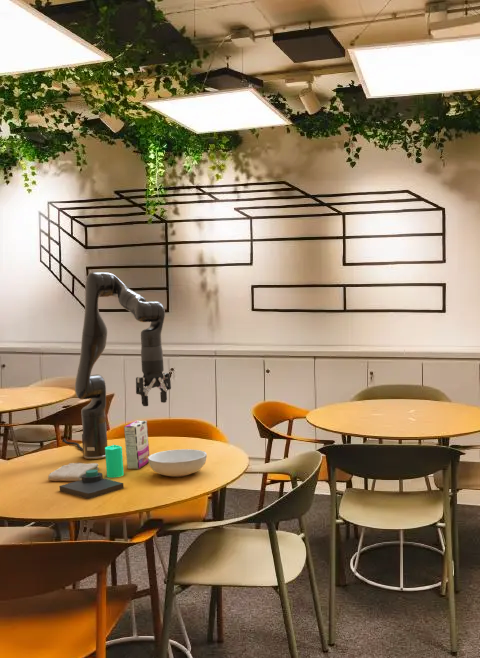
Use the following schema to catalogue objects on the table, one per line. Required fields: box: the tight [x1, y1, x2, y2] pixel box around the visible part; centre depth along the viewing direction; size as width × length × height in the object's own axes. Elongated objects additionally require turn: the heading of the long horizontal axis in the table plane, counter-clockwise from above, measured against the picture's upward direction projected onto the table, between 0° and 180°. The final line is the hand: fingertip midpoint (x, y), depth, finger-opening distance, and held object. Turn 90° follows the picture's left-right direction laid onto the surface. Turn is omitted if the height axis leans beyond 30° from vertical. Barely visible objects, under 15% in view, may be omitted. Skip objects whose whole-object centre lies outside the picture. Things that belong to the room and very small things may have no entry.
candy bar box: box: [123, 420, 150, 470], centre depth 256 cm, size 11×5×16 cm, turn 168°
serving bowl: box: [148, 448, 207, 478], centre depth 243 cm, size 21×21×7 cm
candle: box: [105, 444, 125, 479], centre depth 243 cm, size 6×6×12 cm
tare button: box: [86, 469, 99, 477], centre depth 232 cm, size 4×4×2 cm
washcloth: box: [47, 462, 100, 482], centre depth 245 cm, size 12×18×3 cm, turn 172°
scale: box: [58, 472, 125, 500], centre depth 226 cm, size 16×14×4 cm
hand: (154, 404), depth 240 cm, fingers open, 8 cm apart
